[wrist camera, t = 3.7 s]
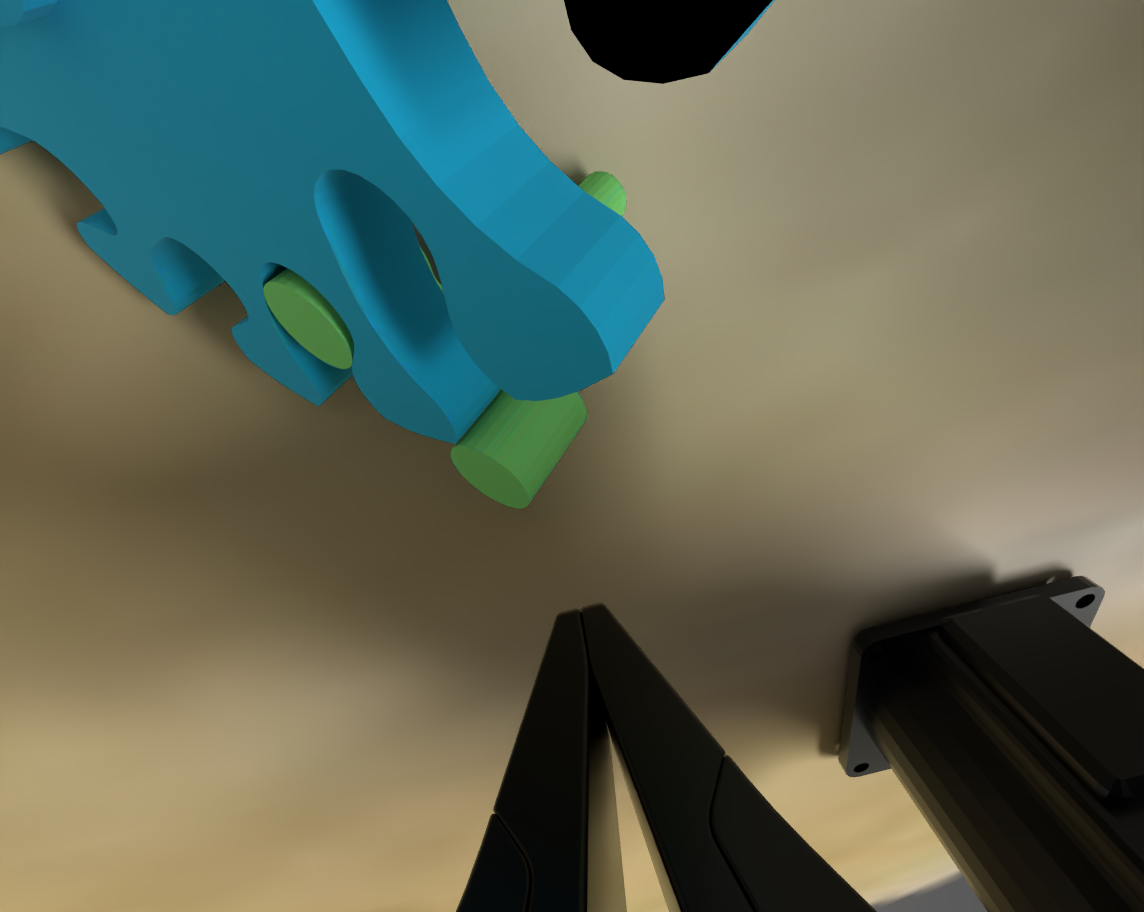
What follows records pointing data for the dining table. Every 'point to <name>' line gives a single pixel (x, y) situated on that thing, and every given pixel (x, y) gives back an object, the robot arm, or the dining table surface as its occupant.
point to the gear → (361, 197)
